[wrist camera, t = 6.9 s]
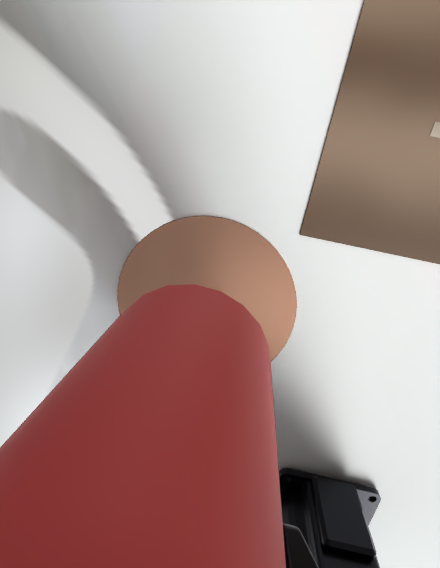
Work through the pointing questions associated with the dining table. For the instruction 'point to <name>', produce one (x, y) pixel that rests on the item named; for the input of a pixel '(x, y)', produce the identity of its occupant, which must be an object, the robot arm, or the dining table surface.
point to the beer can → (152, 447)
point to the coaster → (215, 270)
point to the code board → (385, 137)
